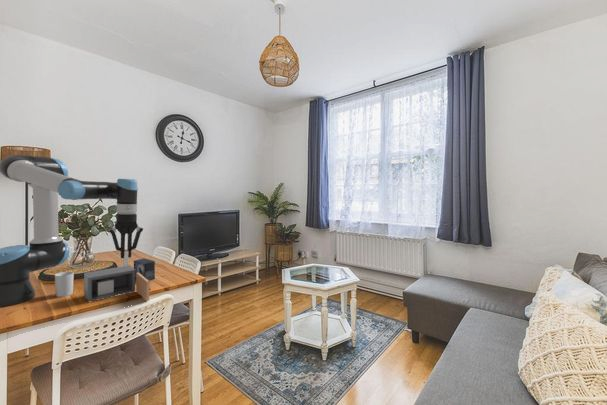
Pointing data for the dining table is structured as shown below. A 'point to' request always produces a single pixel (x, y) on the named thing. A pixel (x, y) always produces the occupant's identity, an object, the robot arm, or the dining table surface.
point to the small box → (145, 268)
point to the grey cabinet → (109, 282)
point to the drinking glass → (64, 283)
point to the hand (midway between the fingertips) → (125, 264)
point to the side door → (142, 286)
